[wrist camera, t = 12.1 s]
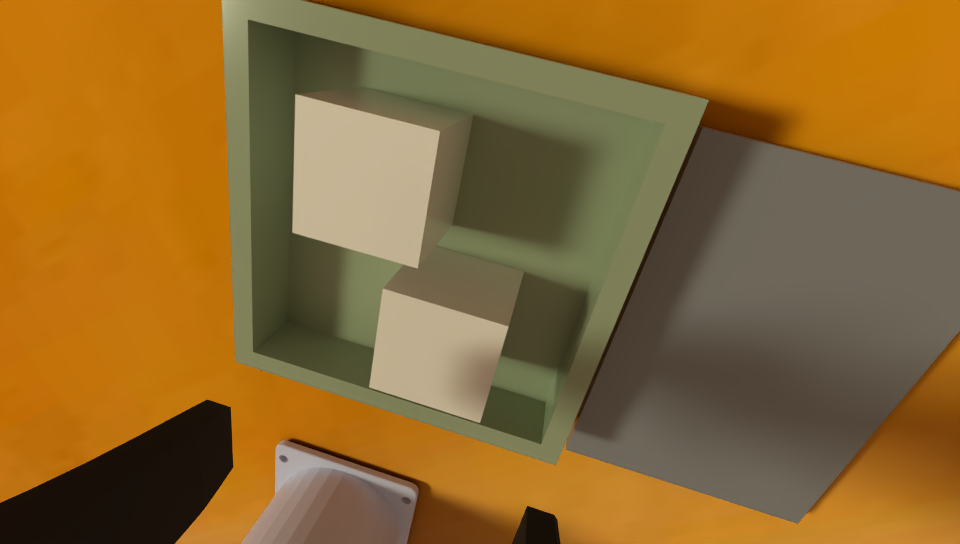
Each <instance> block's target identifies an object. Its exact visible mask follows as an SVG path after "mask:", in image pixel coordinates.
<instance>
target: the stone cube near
mask: <svg viewBox="0 0 960 544" xmlns="http://www.w3.org/2000/svg"><path fill="white" fill-rule="evenodd" d="M472 120H473V115H472V114H468V113H464V112H460V111H456V110H452V109H448V108H444V107H440V106H436V105H432V104H428V103H424V102H420V101H416V100H412V99H408V98H404V97H400V96H396V95H392V94H388V93H384V92H380V91H376V90H372V89H368V88H364V87H354V88H345V89H336V90H328V91H319V92H310V93H301V94H295V133H294V179H293V225H292V233H295V234H299V235H302V236H306V237H309V238H313V239H316V240H320V241H323V242H327V243H330V244H334V245H337V246H341V247H344V248H348V249H351V250H355V251H358V252H362V253H365V254H369V255H372V256H376V257H379V258H383V259H386V260H390V261H393V262H397V263H400V264H404V265H407V266H411V267H414V268H418V267H419V266H420V265H421V264H422V262H423V261H424V260H425V259H426V257H427V256H428V255H429V254H430V252H431V251H432V250H433V249H434V247H435V246H436V245H437V244H438V242H439V241H440V240H441V239H442V237H443V236H444V235H445V234H446V232H447V231H448V230H449V229H450V227H451V226H452V224H453V219H454V214H455V209H456V203H457V198H458V193H459V188H460V183H461V177H462V172H463V167H464V162H465V157H466V151H467V146H468V141H469V136H470V131H471V126H472Z"/></svg>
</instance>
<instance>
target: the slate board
mask: <svg viewBox="0 0 960 544" xmlns="http://www.w3.org/2000/svg"><path fill="white" fill-rule="evenodd" d="M959 331H960V190H959V189H954V188H950V187H946V186H942V185H938V184H934V183H930V182H926V181H922V180H918V179H914V178H910V177H906V176H902V175H898V174H894V173H890V172H886V171H882V170H878V169H874V168H870V167H866V166H862V165H858V164H854V163H850V162H846V161H842V160H838V159H834V158H830V157H826V156H822V155H818V154H814V153H810V152H806V151H802V150H798V149H794V148H790V147H786V146H782V145H778V144H774V143H770V142H766V141H762V140H758V139H754V138H750V137H746V136H742V135H738V134H734V133H730V132H726V131H722V130H718V129H714V128H710V127H706V126H702V125H698V128H697V130H696V132H695V135H694V137H693V140H692V142H691V144H690V147H689V149H688V151H687V154H686V156H685V159H684V161H683V163H682V166H681V168H680V171H679V173H678V175H677V178H676V180H675V182H674V185H673V187H672V190H671V192H670V194H669V197H668V199H667V202H666V204H665V206H664V209H663V211H662V213H661V216H660V218H659V221H658V223H657V225H656V228H655V230H654V232H653V235H652V237H651V240H650V242H649V244H648V247H647V249H646V252H645V254H644V256H643V259H642V261H641V263H640V266H639V268H638V271H637V273H636V275H635V278H634V280H633V283H632V285H631V287H630V290H629V292H628V294H627V297H626V299H625V302H624V304H623V306H622V309H621V311H620V313H619V316H618V318H617V321H616V323H615V325H614V328H613V330H612V333H611V335H610V337H609V340H608V342H607V344H606V347H605V349H604V352H603V354H602V356H601V359H600V361H599V364H598V366H597V368H596V371H595V373H594V375H593V378H592V380H591V383H590V385H589V387H588V390H587V392H586V395H585V397H584V399H583V402H582V404H581V406H580V409H579V411H578V414H577V416H576V418H575V421H574V423H573V425H572V428H571V430H570V433H569V435H568V437H567V441H566V450H569V451H572V452H576V453H579V454H582V455H585V456H588V457H591V458H594V459H597V460H600V461H604V462H607V463H610V464H613V465H616V466H619V467H622V468H625V469H629V470H632V471H635V472H638V473H641V474H644V475H647V476H650V477H654V478H657V479H660V480H663V481H666V482H669V483H672V484H675V485H679V486H682V487H685V488H688V489H691V490H694V491H697V492H700V493H704V494H707V495H710V496H713V497H716V498H719V499H722V500H725V501H729V502H732V503H735V504H738V505H741V506H744V507H747V508H750V509H754V510H757V511H760V512H763V513H766V514H769V515H772V516H775V517H779V518H782V519H785V520H788V521H791V522H794V523H797V524H798V523H799V522H800V520H801V519H802V518H803V517H804V516H805V514H806V513H807V512H808V511H809V510H810V508H811V507H812V506H813V505H814V504H815V503H816V501H817V500H818V499H819V498H820V497H821V495H822V494H823V493H824V492H825V491H826V489H827V488H828V487H829V486H830V485H831V483H832V482H833V481H834V480H835V479H836V478H837V476H838V475H839V474H840V473H841V472H842V470H843V469H844V468H845V467H846V466H847V464H848V463H849V462H850V461H851V460H852V458H853V457H854V456H855V455H856V454H857V453H858V451H859V450H860V449H861V448H862V447H863V445H864V444H865V443H866V442H867V441H868V439H869V438H870V437H871V436H872V435H873V433H874V432H875V431H876V430H877V429H878V428H879V426H880V425H881V424H882V423H883V422H884V420H885V419H886V418H887V417H888V416H889V414H890V413H891V412H892V411H893V410H894V409H895V407H896V406H897V405H898V404H899V403H900V401H901V400H902V399H903V398H904V397H905V395H906V394H907V393H908V392H909V391H910V389H911V388H912V387H913V386H914V385H915V384H916V382H917V381H918V380H919V379H920V378H921V376H922V375H923V374H924V373H925V372H926V370H927V369H928V368H929V367H930V366H931V364H932V363H933V362H934V361H935V360H936V359H937V357H938V356H939V355H940V354H941V353H942V351H943V350H944V349H945V348H946V347H947V345H948V344H949V343H950V342H951V341H952V339H953V338H954V337H955V336H956V335H957V334H958V332H959Z"/></svg>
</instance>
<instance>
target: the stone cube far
mask: <svg viewBox="0 0 960 544" xmlns="http://www.w3.org/2000/svg"><path fill="white" fill-rule="evenodd" d="M523 274H524V271H520V270H517V269H513V268H510V267H507V266H503V265H500V264H496V263H493V262H489V261H486V260H482V259H479V258H476V257H472V256H469V255H465V254H462V253H458V252H455V251H451V250H448V249H445V248H441V247H438V246H435V247H434V249H433V250H432V251H431V252H430V254H429V255H428V256H427V257H426V259H425V260H424V261H423V262H422V264H421V265H420V266H419V267H418V268H414V267H411V266H407V265H403V266H402V267H401V268H400V270H399V271H398V272H397V273H396V274H395V275H394V276H393V278H392V279H391V280H390V281H389V282H388V283H387V284H386V285H385V287H384V288H383V291H382V298H381V305H380V312H379V319H378V327H377V334H376V341H375V348H374V356H373V363H372V370H371V377H370V385H369V387H370V388H373V389H376V390H379V391H382V392H385V393H388V394H391V395H394V396H398V397H401V398H404V399H407V400H410V401H413V402H416V403H419V404H422V405H425V406H429V407H432V408H435V409H438V410H441V411H444V412H447V413H450V414H453V415H456V416H460V417H463V418H466V419H469V420H472V421H475V422H478V423H480V421H481V418H482V415H483V411H484V408H485V405H486V401H487V398H488V394H489V391H490V388H491V384H492V381H493V378H494V374H495V371H496V367H497V364H498V361H499V357H500V354H501V351H502V347H503V344H504V340H505V337H506V334H507V330H508V327H509V323H510V320H511V316H512V313H513V309H514V306H515V302H516V298H517V295H518V291H519V288H520V284H521V281H522V277H523Z"/></svg>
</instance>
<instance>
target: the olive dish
mask: <svg viewBox="0 0 960 544" xmlns="http://www.w3.org/2000/svg"><path fill="white" fill-rule="evenodd" d="M222 18H223V45H224V72H225V98H226V125H227V151H228V178H229V204H230V231H231V257H232V284H233V311H234V337H235V362H238V363H241V364H244V365H247V366H251V367H254V368H257V369H260V370H263V371H266V372H269V373H272V374H275V375H278V376H281V377H285V378H288V379H291V380H294V381H297V382H300V383H303V384H306V385H309V386H312V387H315V388H318V389H322V390H325V391H328V392H331V393H334V394H337V395H340V396H343V397H346V398H349V399H352V400H356V401H359V402H362V403H365V404H368V405H371V406H374V407H377V408H380V409H383V410H386V411H390V412H393V413H396V414H399V415H402V416H405V417H408V418H411V419H414V420H417V421H420V422H423V423H427V424H430V425H433V426H436V427H439V428H442V429H445V430H448V431H451V432H454V433H457V434H461V435H464V436H467V437H470V438H473V439H476V440H479V441H482V442H485V443H488V444H491V445H495V446H498V447H501V448H504V449H507V450H510V451H513V452H516V453H519V454H522V455H525V456H528V457H532V458H535V459H538V460H541V461H544V462H547V463H550V464H553V465H556V464H557V461H558V459H559V456H560V454H561V452H562V449H563V447H564V445H565V442H566V440H567V437H568V435H569V433H570V430H571V428H572V425H573V423H574V421H575V418H576V416H577V414H578V411H579V409H580V406H581V404H582V402H583V399H584V397H585V395H586V392H587V390H588V387H589V385H590V383H591V380H592V378H593V375H594V373H595V371H596V368H597V366H598V364H599V361H600V359H601V356H602V354H603V352H604V349H605V347H606V344H607V342H608V340H609V337H610V335H611V333H612V330H613V328H614V325H615V323H616V321H617V318H618V316H619V313H620V311H621V309H622V306H623V304H624V302H625V299H626V297H627V294H628V292H629V290H630V287H631V285H632V283H633V280H634V278H635V275H636V273H637V271H638V268H639V266H640V263H641V261H642V259H643V256H644V254H645V252H646V249H647V247H648V244H649V242H650V240H651V237H652V235H653V232H654V230H655V228H656V225H657V223H658V221H659V218H660V216H661V213H662V211H663V209H664V206H665V204H666V202H667V199H668V197H669V194H670V192H671V190H672V187H673V185H674V182H675V180H676V178H677V175H678V173H679V171H680V168H681V166H682V163H683V161H684V159H685V156H686V154H687V151H688V149H689V147H690V144H691V142H692V140H693V137H694V135H695V132H696V130H697V128H698V125H699V123H700V120H701V118H702V116H703V113H704V111H705V109H706V106H707V104H708V101H709V100H708V99H704V98H701V97H698V96H695V95H691V94H688V93H685V92H681V91H677V90H672V89H668V88H664V87H660V86H656V85H652V84H648V83H644V82H640V81H636V80H631V79H627V78H623V77H619V76H615V75H611V74H607V73H603V72H599V71H594V70H590V69H586V68H582V67H578V66H574V65H570V64H566V63H562V62H558V61H553V60H549V59H545V58H541V57H537V56H533V55H529V54H525V53H521V52H517V51H512V50H508V49H504V48H500V47H496V46H492V45H488V44H484V43H480V42H475V41H471V40H467V39H463V38H459V37H455V36H451V35H447V34H443V33H439V32H434V31H430V30H426V29H422V28H418V27H414V26H410V25H406V24H402V23H398V22H393V21H389V20H385V19H381V18H377V17H373V16H369V15H365V14H361V13H356V12H352V11H348V10H344V9H340V8H336V7H332V6H328V5H324V4H320V3H315V2H311V1H307V0H222ZM354 87H364V88H368V89H372V90H376V91H380V92H384V93H388V94H392V95H396V96H400V97H404V98H408V99H412V100H416V101H420V102H424V103H428V104H432V105H436V106H440V107H444V108H448V109H452V110H456V111H460V112H464V113H468V114H472V115H473V120H472V126H471V131H470V136H469V141H468V146H467V151H466V157H465V162H464V167H463V172H462V177H461V183H460V188H459V193H458V198H457V203H456V209H455V214H454V219H453V224H452V226H451V227H450V229H449V230H448V231H447V232H446V234H445V235H444V236H443V237H442V239H441V240H440V241H439V242H438V244H437V245H436V246H438V247H441V248H445V249H448V250H451V251H455V252H458V253H462V254H465V255H469V256H472V257H476V258H479V259H482V260H486V261H489V262H493V263H496V264H500V265H503V266H507V267H510V268H513V269H517V270H520V271H524V274H523V277H522V281H521V284H520V288H519V291H518V295H517V298H516V302H515V306H514V309H513V313H512V316H511V320H510V323H509V327H508V330H507V334H506V337H505V340H504V344H503V347H502V351H501V354H500V357H499V361H498V364H497V367H496V371H495V374H494V378H493V381H492V384H491V388H490V391H489V394H488V398H487V401H486V405H485V408H484V411H483V415H482V418H481V421H480V423H478V422H475V421H472V420H469V419H466V418H463V417H460V416H456V415H453V414H450V413H447V412H444V411H441V410H438V409H435V408H432V407H429V406H425V405H422V404H419V403H416V402H413V401H410V400H407V399H404V398H401V397H398V396H394V395H391V394H388V393H385V392H382V391H379V390H376V389H373V388H370V387H369V385H370V377H371V370H372V363H373V356H374V348H375V341H376V334H377V327H378V319H379V312H380V305H381V298H382V291H383V288H384V287H385V285H386V284H387V283H388V282H389V281H390V280H391V279H392V278H393V276H394V275H395V274H396V273H397V272H398V271H399V270H400V268H401V267H402V266H403V265H404V264H400V263H397V262H393V261H390V260H386V259H383V258H379V257H376V256H372V255H369V254H365V253H362V252H358V251H355V250H351V249H348V248H344V247H341V246H337V245H334V244H330V243H327V242H323V241H320V240H316V239H313V238H309V237H306V236H302V235H299V234H295V233H292V225H293V179H294V133H295V94H301V93H310V92H319V91H328V90H336V89H345V88H354Z"/></svg>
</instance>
